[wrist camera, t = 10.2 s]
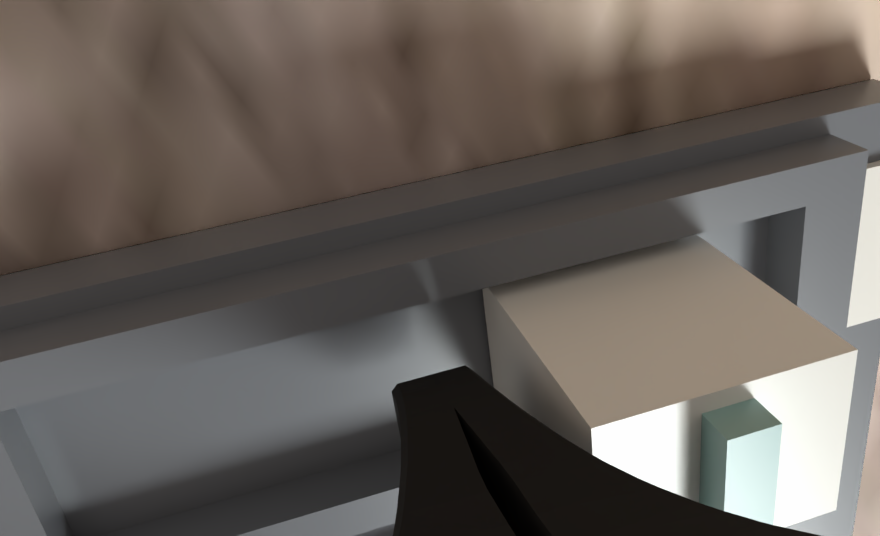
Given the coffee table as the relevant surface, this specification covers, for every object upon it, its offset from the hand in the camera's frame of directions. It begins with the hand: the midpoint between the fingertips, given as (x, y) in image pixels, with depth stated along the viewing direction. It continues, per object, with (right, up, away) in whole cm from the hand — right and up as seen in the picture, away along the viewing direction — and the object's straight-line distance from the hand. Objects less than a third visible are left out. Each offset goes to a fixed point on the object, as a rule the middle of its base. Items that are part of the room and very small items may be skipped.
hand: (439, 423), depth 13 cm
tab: (+3, +2, +2) cm, 4 cm away
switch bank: (0, -2, +4) cm, 5 cm away
